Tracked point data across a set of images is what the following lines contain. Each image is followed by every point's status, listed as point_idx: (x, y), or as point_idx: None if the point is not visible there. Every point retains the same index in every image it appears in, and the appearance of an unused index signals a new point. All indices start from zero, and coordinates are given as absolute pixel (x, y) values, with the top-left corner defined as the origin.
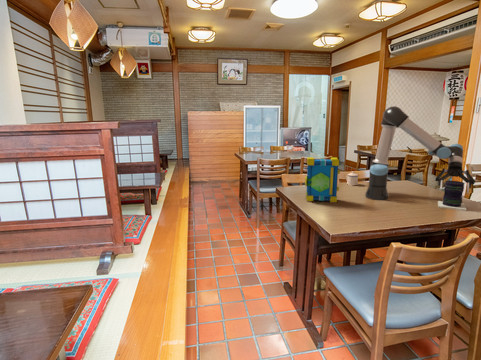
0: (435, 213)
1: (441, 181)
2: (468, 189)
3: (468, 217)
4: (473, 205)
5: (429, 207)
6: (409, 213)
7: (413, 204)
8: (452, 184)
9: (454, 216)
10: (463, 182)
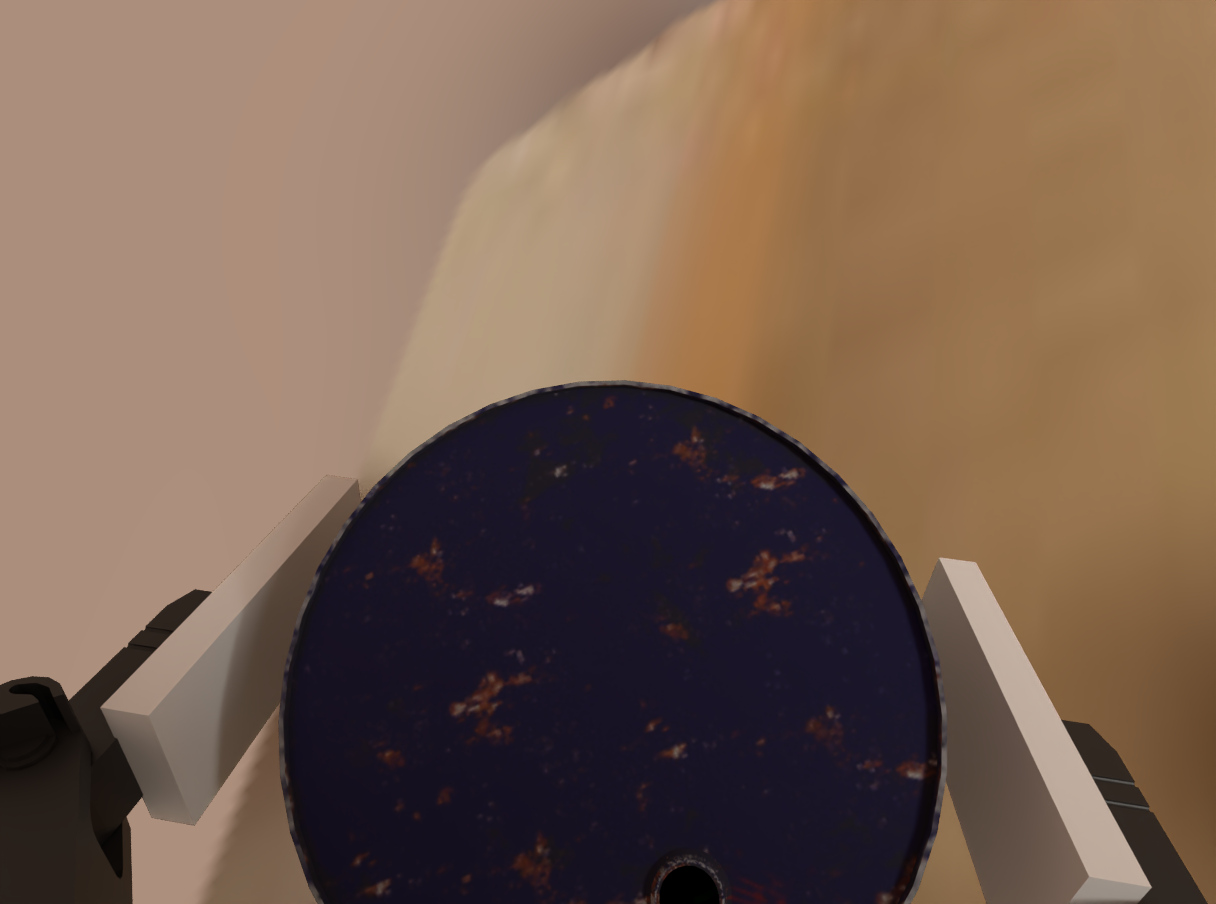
0: (892, 184)
1: (1091, 812)
2: (306, 509)
3: (548, 171)
4: (249, 884)
5: (955, 451)
6: (1188, 66)
7: (1197, 544)
8: (729, 418)
9: (693, 149)
10: (280, 768)
